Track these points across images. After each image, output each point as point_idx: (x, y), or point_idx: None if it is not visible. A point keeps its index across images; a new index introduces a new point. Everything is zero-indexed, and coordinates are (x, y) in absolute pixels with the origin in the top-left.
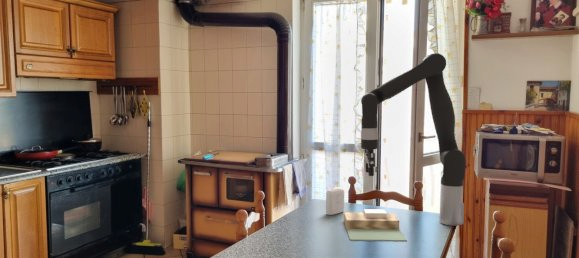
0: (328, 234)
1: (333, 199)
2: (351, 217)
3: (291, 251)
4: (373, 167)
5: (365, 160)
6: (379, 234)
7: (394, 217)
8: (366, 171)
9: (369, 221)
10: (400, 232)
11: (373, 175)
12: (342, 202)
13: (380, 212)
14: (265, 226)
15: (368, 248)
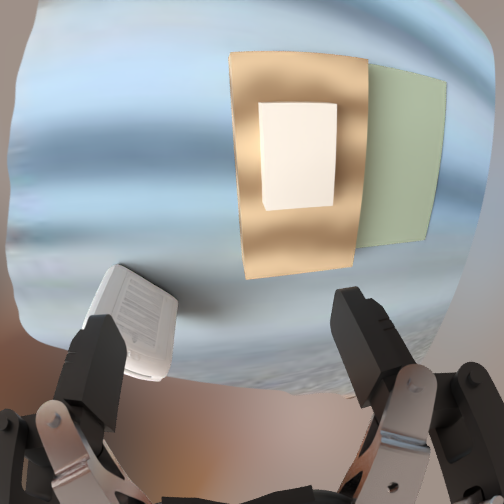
0: (373, 290)
1: (167, 338)
2: (320, 251)
3: (435, 329)
4: (389, 370)
5: (141, 492)
6: (404, 150)
7: (319, 64)
8: (124, 352)
9: (361, 184)
10: (387, 70)
11: (356, 288)
12: (118, 293)
13: (322, 132)
14: (299, 395)
15: (468, 199)
